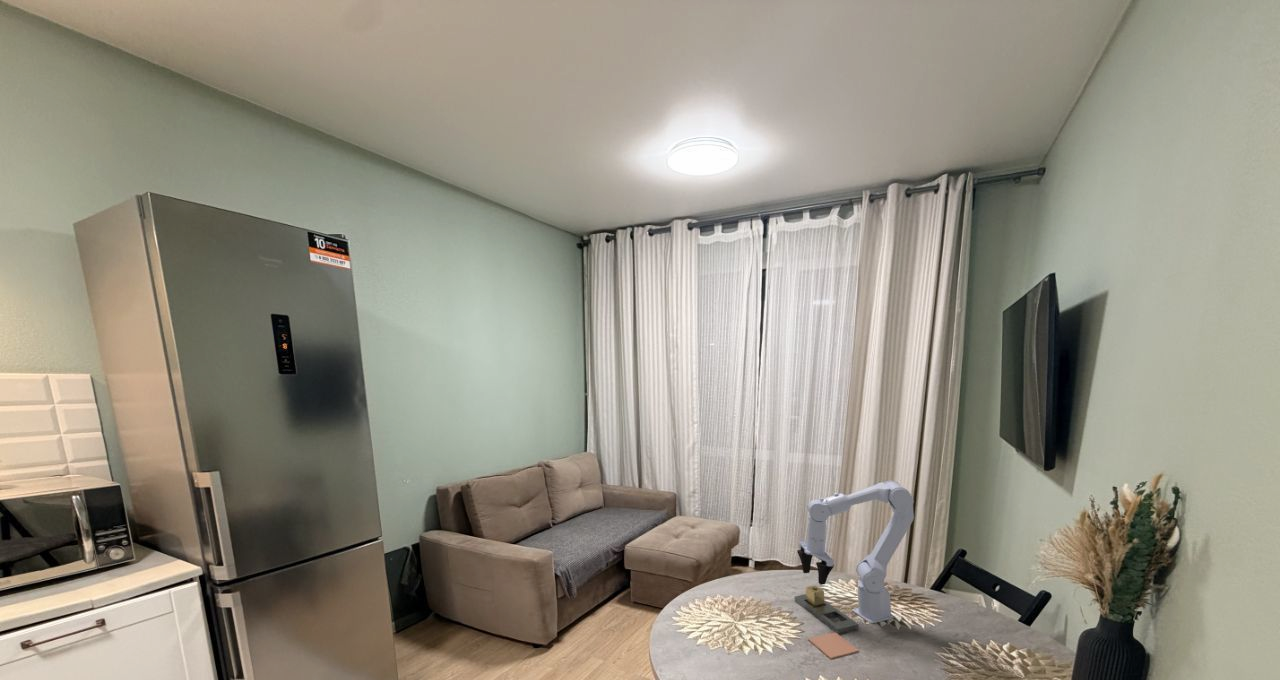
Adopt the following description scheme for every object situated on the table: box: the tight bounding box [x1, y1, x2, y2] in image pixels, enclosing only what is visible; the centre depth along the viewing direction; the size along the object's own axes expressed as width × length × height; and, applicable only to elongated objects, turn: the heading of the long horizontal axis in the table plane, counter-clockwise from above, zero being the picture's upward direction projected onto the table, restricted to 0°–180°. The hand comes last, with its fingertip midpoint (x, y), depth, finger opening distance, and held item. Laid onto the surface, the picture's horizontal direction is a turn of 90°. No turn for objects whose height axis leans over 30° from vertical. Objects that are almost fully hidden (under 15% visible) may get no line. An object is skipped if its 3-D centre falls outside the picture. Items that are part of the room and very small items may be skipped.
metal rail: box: [794, 593, 860, 635], centre depth 144 cm, size 8×20×2 cm, turn 19°
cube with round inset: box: [805, 584, 825, 608], centre depth 149 cm, size 4×4×6 cm
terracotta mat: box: [808, 631, 860, 660], centre depth 128 cm, size 10×9×1 cm
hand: (813, 578), depth 149 cm, fingers open, 7 cm apart
